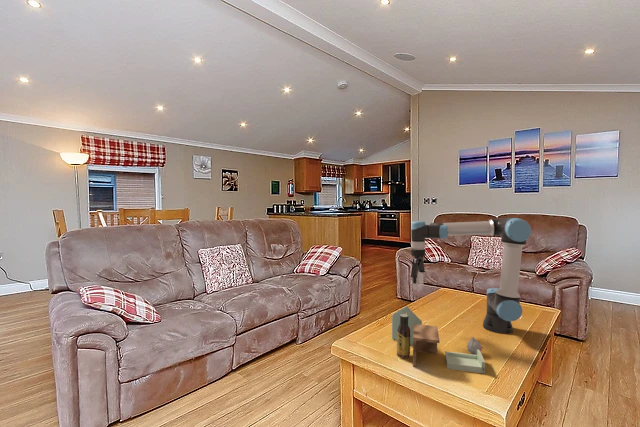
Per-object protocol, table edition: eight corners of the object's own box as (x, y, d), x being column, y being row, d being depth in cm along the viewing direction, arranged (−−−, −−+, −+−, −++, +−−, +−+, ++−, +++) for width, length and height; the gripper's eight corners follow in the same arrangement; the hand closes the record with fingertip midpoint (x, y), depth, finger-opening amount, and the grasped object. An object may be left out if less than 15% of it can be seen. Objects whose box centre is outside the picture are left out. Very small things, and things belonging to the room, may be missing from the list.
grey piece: (427, 343, 171) (427, 305, 171) (421, 348, 165) (421, 309, 165) (398, 335, 182) (398, 299, 181) (391, 339, 176) (392, 302, 175)
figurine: (480, 358, 155) (480, 341, 154) (464, 353, 159) (465, 337, 159) (484, 353, 160) (484, 337, 159) (469, 349, 164) (469, 333, 164)
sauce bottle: (394, 353, 160) (395, 312, 159) (407, 352, 161) (407, 312, 160) (399, 359, 154) (399, 317, 153) (412, 359, 154) (412, 317, 153)
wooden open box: (436, 353, 160) (437, 326, 160) (439, 370, 144) (439, 340, 143) (413, 350, 163) (413, 323, 163) (412, 366, 147) (413, 337, 146)
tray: (479, 360, 152) (479, 349, 152) (484, 373, 141) (484, 362, 141) (445, 356, 157) (445, 346, 156) (447, 368, 145) (447, 357, 145)
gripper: (416, 245, 198) (416, 280, 199) (405, 251, 176) (405, 290, 177) (429, 246, 194) (429, 282, 195) (419, 252, 173) (419, 292, 173)
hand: (418, 286), depth 186 cm, fingers open, 13 cm apart
